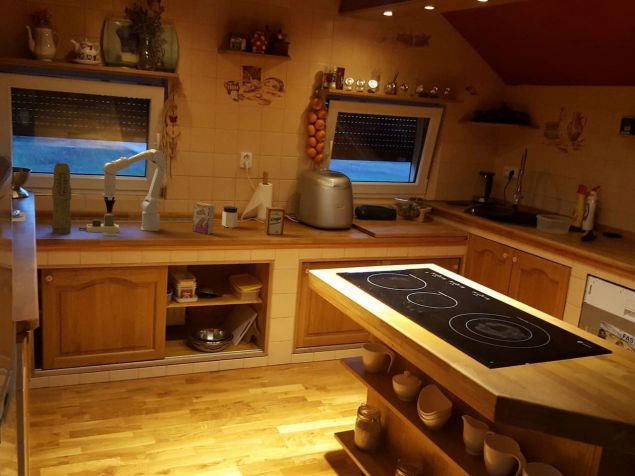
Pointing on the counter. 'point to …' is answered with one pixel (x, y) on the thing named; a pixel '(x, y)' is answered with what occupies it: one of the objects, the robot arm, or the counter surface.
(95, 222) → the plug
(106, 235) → the mat
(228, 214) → the jar
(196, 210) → the candy bar box
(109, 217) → the block
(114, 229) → the power strip
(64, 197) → the carved stone statue
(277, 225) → the baking soda box
